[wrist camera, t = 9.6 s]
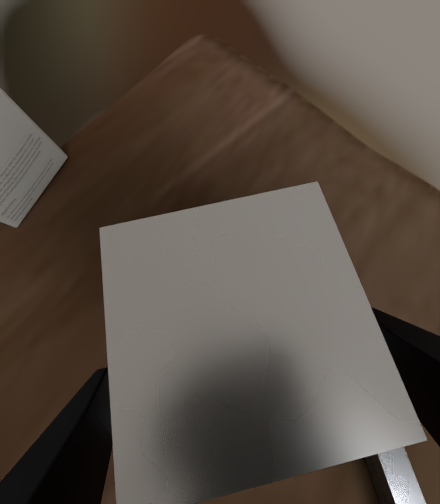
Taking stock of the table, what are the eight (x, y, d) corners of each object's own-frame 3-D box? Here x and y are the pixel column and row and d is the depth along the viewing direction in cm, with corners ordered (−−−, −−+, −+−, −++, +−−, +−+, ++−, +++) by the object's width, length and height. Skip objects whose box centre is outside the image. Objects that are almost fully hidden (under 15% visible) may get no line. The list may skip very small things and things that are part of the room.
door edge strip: (423, 548, 12) (460, 590, 10) (397, 556, 12) (429, 599, 10) (303, 225, 18) (312, 214, 16) (286, 229, 18) (293, 218, 16)
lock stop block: (273, 350, 15) (427, 439, 4) (201, 367, 15) (117, 524, 3) (254, 279, 16) (317, 181, 5) (188, 294, 16) (99, 227, 5)
